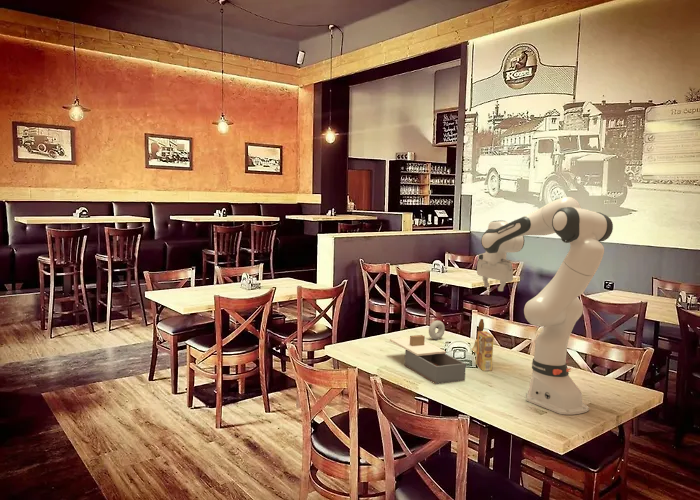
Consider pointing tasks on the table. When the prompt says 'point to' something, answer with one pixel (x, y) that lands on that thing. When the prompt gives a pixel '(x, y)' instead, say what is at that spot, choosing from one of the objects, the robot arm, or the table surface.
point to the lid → (417, 345)
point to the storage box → (436, 367)
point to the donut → (440, 329)
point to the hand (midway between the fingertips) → (493, 288)
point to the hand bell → (481, 327)
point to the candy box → (484, 350)
